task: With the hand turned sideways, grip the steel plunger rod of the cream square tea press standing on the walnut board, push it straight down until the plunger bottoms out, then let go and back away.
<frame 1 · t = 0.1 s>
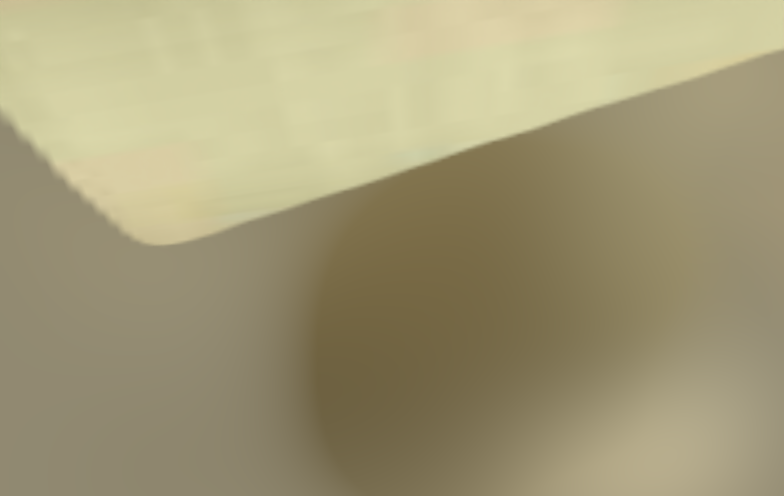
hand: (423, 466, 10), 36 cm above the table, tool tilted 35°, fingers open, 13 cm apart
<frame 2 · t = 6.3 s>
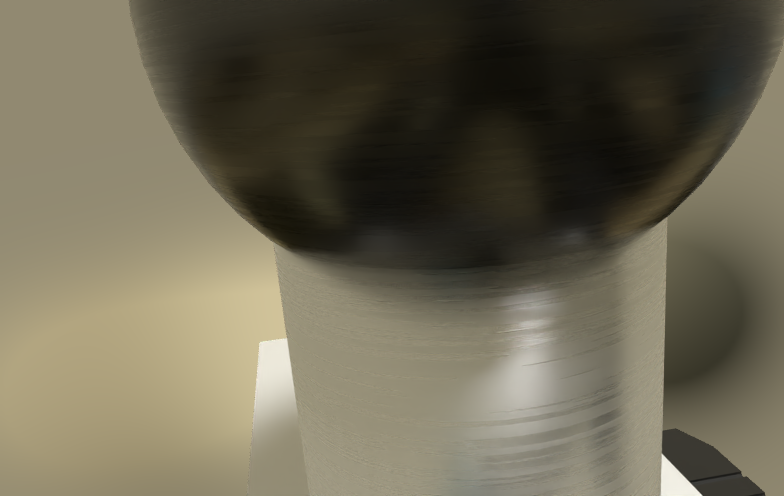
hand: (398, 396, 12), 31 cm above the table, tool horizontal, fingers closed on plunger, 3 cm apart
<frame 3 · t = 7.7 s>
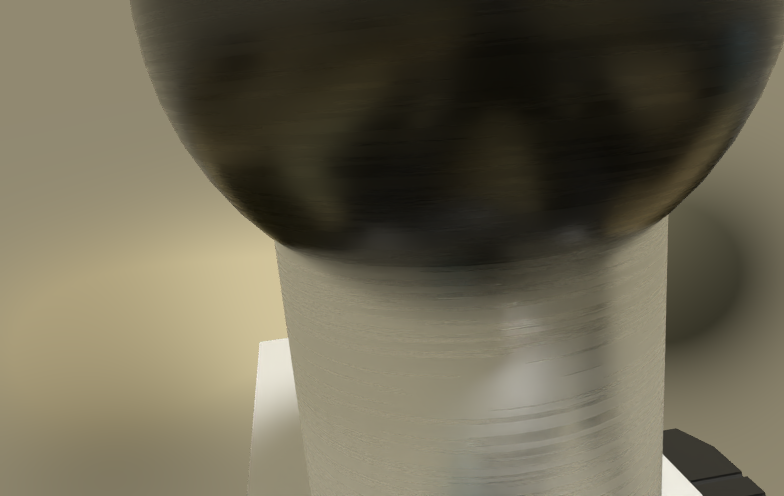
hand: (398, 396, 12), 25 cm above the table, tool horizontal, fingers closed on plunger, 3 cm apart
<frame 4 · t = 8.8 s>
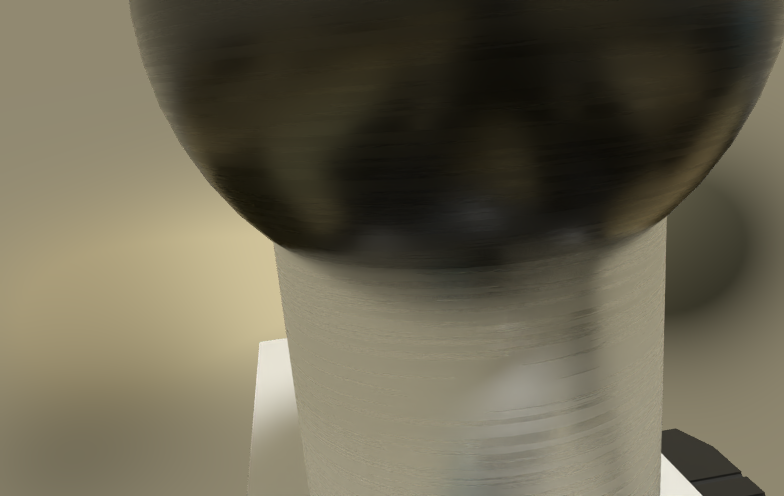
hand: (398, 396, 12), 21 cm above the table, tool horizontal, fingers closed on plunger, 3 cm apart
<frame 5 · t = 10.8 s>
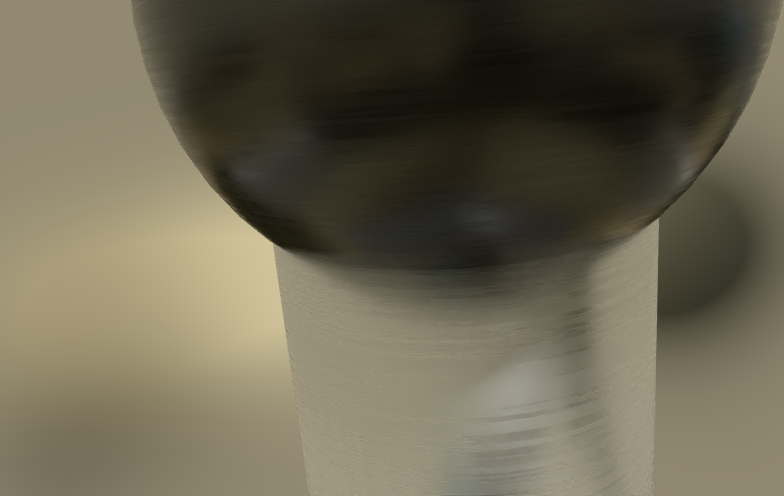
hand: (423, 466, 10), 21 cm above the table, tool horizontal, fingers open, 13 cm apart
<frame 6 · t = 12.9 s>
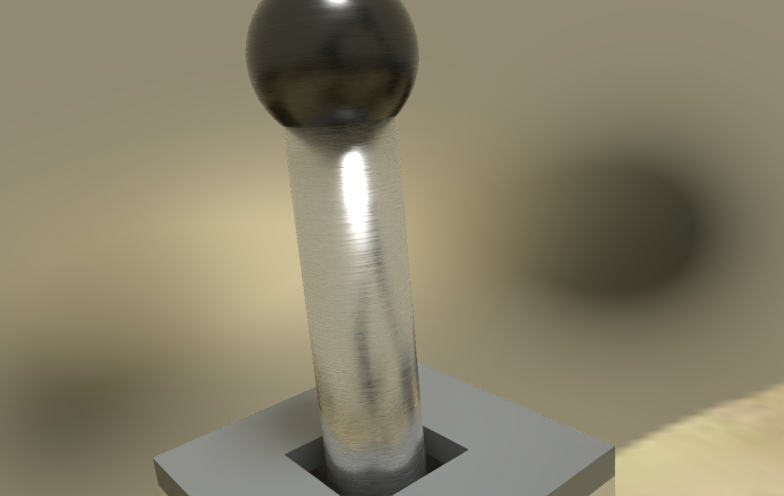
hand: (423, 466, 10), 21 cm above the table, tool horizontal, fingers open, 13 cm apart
plunger: (373, 432, 20), point 16 cm above the table, slide at 0.1 cm
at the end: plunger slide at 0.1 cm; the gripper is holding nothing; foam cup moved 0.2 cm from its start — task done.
